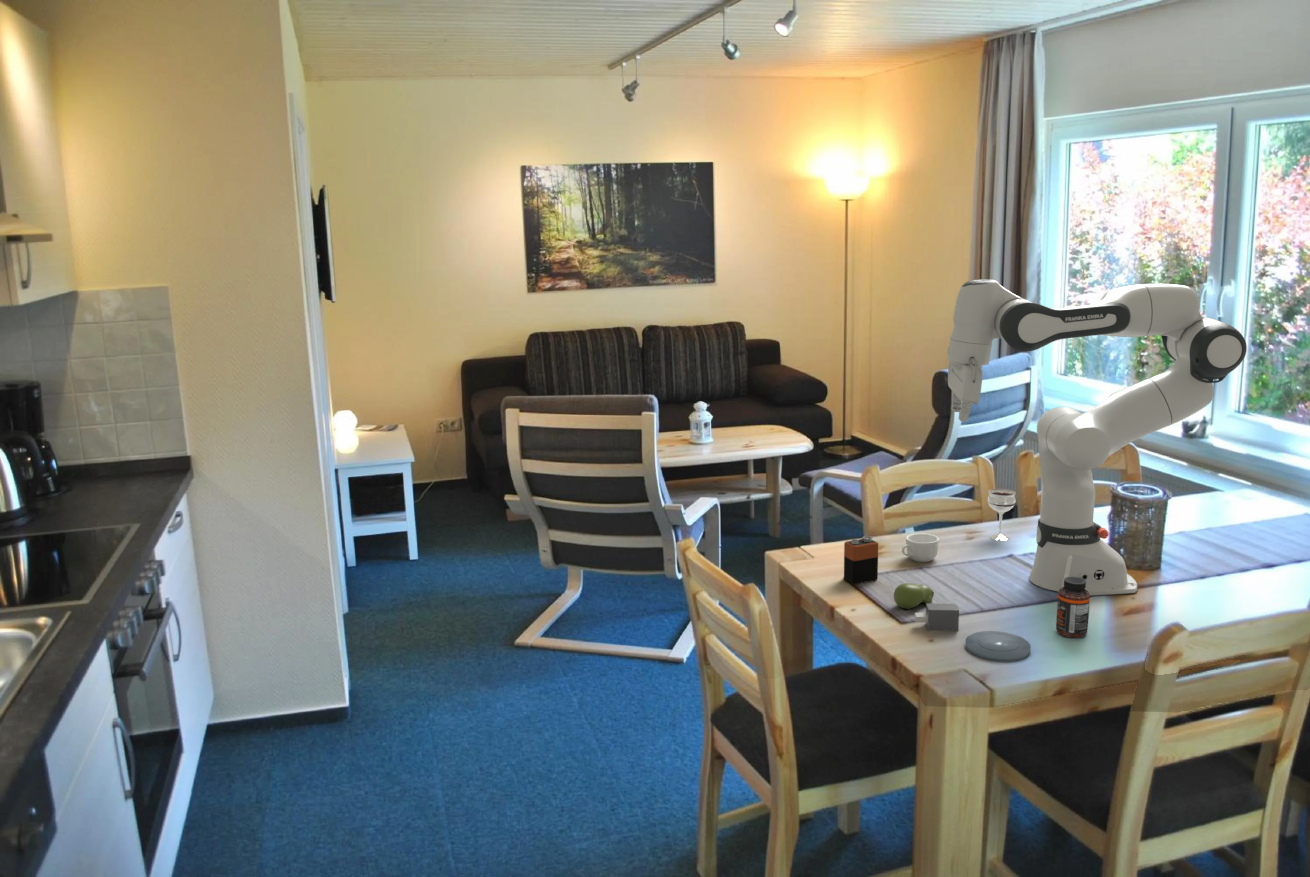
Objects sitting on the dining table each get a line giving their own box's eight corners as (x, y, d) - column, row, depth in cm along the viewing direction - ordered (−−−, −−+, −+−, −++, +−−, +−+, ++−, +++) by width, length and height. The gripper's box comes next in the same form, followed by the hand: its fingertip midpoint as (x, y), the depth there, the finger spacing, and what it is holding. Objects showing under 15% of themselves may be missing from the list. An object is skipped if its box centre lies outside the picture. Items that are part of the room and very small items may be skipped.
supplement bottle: (1050, 628, 211) (1053, 575, 208) (1078, 626, 211) (1082, 573, 209) (1063, 640, 205) (1067, 585, 202) (1093, 638, 205) (1096, 584, 203)
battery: (878, 580, 240) (879, 538, 237) (853, 584, 237) (854, 543, 235) (867, 574, 244) (868, 533, 241) (842, 578, 241) (843, 537, 239)
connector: (955, 624, 214) (956, 603, 213) (958, 631, 211) (959, 610, 210) (914, 623, 215) (914, 603, 214) (916, 630, 212) (917, 609, 211)
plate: (1022, 636, 207) (1022, 630, 207) (1037, 662, 196) (1037, 656, 195) (960, 635, 208) (960, 629, 208) (971, 660, 197) (972, 654, 197)
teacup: (923, 552, 258) (924, 531, 257) (945, 561, 251) (945, 539, 250) (891, 559, 254) (892, 537, 252) (912, 568, 247) (913, 546, 246)
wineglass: (990, 531, 272) (993, 487, 269) (1017, 535, 268) (1019, 491, 265) (982, 538, 267) (984, 493, 264) (1008, 543, 263) (1011, 497, 260)
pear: (890, 581, 223) (921, 578, 229) (886, 605, 224) (918, 601, 230) (909, 588, 219) (941, 585, 225) (906, 612, 219) (938, 609, 225)
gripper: (993, 363, 215) (982, 428, 219) (975, 348, 235) (966, 408, 238) (962, 360, 216) (952, 424, 219) (947, 345, 236) (938, 405, 239)
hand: (959, 415), depth 229 cm, fingers open, 8 cm apart
